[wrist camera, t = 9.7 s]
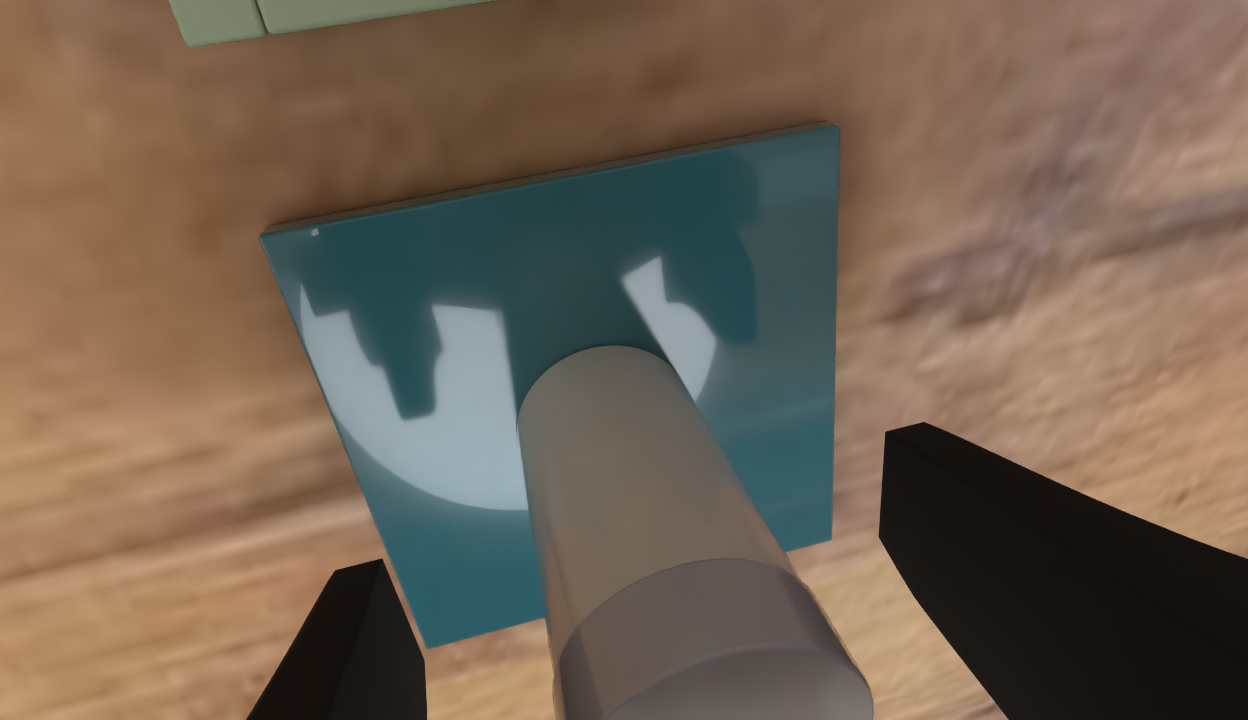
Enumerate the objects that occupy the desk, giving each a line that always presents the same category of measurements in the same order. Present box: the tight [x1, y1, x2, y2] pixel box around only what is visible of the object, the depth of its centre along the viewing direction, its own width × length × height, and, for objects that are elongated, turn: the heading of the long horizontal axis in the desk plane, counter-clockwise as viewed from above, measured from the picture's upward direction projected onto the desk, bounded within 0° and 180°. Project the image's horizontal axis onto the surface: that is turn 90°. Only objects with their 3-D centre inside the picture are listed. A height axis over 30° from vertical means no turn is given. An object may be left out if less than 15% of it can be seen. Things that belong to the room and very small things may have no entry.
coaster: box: [259, 121, 840, 649], centre depth 13 cm, size 9×9×1 cm
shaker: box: [517, 345, 874, 720], centre depth 10 cm, size 3×3×6 cm
